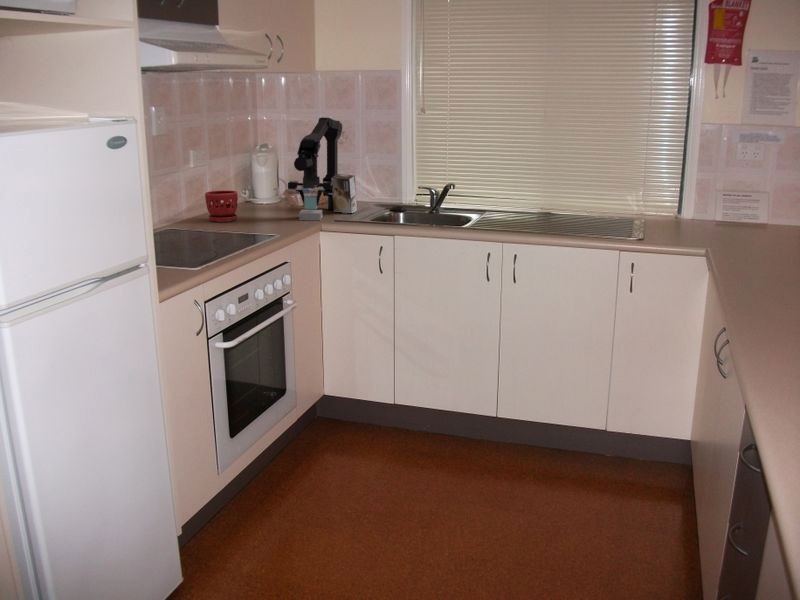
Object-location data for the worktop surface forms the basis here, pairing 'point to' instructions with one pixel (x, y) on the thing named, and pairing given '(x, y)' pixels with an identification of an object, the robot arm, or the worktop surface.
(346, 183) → the coffee box
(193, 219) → the worktop surface
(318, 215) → the stone plinth
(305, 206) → the teal cube
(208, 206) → the plant pot
